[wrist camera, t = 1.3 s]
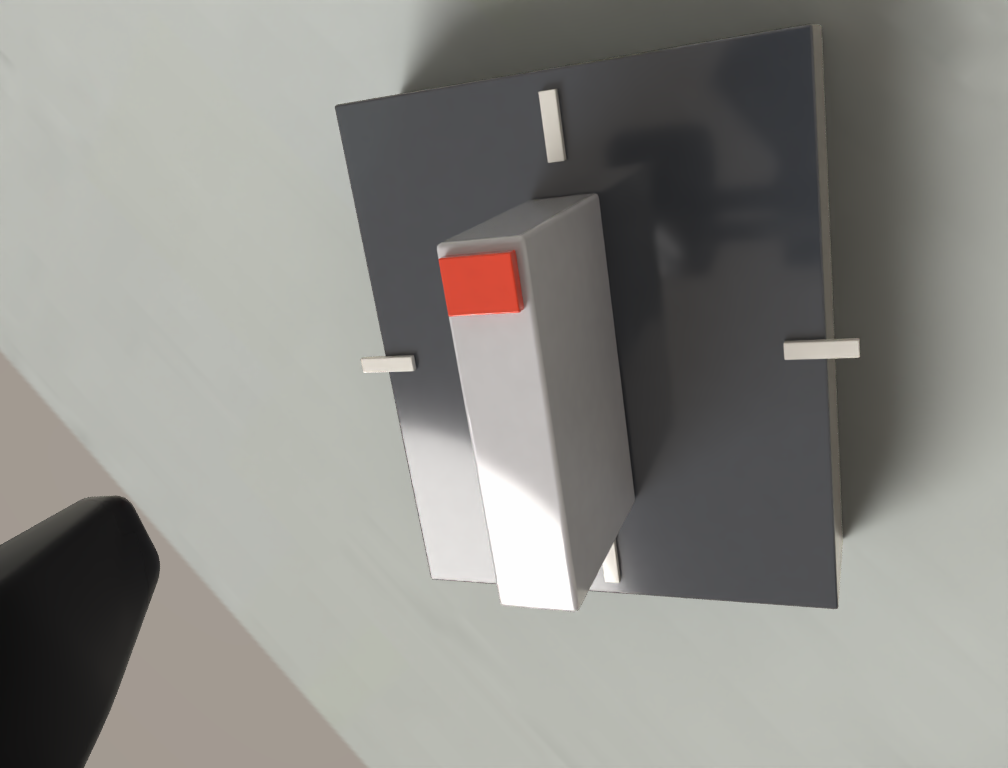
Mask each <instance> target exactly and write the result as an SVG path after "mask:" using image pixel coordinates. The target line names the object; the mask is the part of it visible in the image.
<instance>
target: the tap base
mask: <svg viewBox="0 0 1008 768" xmlns="http://www.w3.org/2000/svg"><path fill="white" fill-rule="evenodd" d="M335 110H336V115H337V120H338V125H339V130H340V135H341V139H342V144H343V149H344V154H345V159H346V164H347V169H348V174H349V179H350V183H351V188H352V193H353V198H354V203H355V208H356V213H357V218H358V223H359V227H360V232H361V237H362V242H363V247H364V252H365V257H366V262H367V267H368V271H369V276H370V281H371V286H372V291H373V296H374V301H375V306H376V311H377V315H378V320H379V325H380V330H381V335H382V340H383V345H384V350H385V355H386V356H377V357H363V358H361V364H362V368H363V372H364V373H368V372H389V374H390V379H391V384H392V389H393V394H394V399H395V403H396V408H397V413H398V418H399V423H400V428H401V433H402V438H403V443H404V447H405V452H406V457H407V462H408V467H409V472H410V477H411V482H412V487H413V491H414V496H415V501H416V506H417V511H418V516H419V521H420V526H421V531H422V535H423V540H424V545H425V550H426V555H427V560H428V565H429V570H430V575H431V578H432V579H436V580H450V581H463V582H477V583H490V584H497V583H496V577H495V572H494V566H493V560H492V555H491V549H490V544H489V538H488V533H487V527H486V521H485V516H484V510H483V505H482V499H481V493H480V488H479V482H478V477H477V471H476V465H475V460H474V454H473V449H472V443H471V438H470V432H469V426H468V421H467V415H466V410H465V404H464V398H463V393H462V387H461V382H460V376H459V371H458V365H457V359H456V354H455V348H454V343H453V337H452V331H451V326H450V320H449V316H448V310H447V305H446V299H445V293H444V288H443V282H442V277H441V271H440V266H439V259H438V253H437V245H438V244H440V243H441V242H444V241H446V240H448V239H450V238H452V237H454V236H456V235H458V234H460V233H462V232H464V231H466V230H468V229H470V228H473V227H475V226H477V225H479V224H481V223H483V222H485V221H487V220H489V219H491V218H493V217H495V216H497V215H499V214H501V213H504V212H506V211H508V210H510V209H512V208H514V207H516V206H518V205H520V204H522V203H524V202H526V201H528V200H535V199H544V198H554V197H563V196H572V195H581V194H590V193H595V194H597V195H598V197H599V203H600V211H601V220H602V228H603V236H604V245H605V253H606V261H607V270H608V278H609V286H610V295H611V303H612V311H613V319H614V328H615V336H616V344H617V353H618V361H619V369H620V378H621V386H622V394H623V403H624V411H625V419H626V428H627V436H628V444H629V453H630V461H631V469H632V478H633V486H634V494H635V502H634V504H633V506H632V508H631V510H630V512H629V514H628V516H627V518H626V520H625V522H624V524H623V526H622V528H621V529H620V531H619V533H618V535H617V537H616V539H615V541H614V543H613V545H612V547H611V549H610V551H609V553H608V555H607V557H606V558H605V560H604V562H603V564H602V566H601V568H600V570H599V572H598V574H597V576H596V578H595V580H594V582H593V584H592V586H591V587H590V589H589V591H598V592H612V593H626V594H639V595H653V596H666V597H680V598H693V599H707V600H720V601H734V602H747V603H761V604H774V605H788V606H801V607H815V608H828V609H837V608H838V604H839V590H840V575H841V561H842V546H843V532H842V508H841V483H840V459H839V434H838V410H837V385H836V361H835V358H859V357H860V342H859V338H847V339H835V336H834V312H833V287H832V263H831V238H830V214H829V190H828V165H827V141H826V116H825V92H824V67H823V43H822V27H821V25H815V24H806V25H800V26H794V27H788V28H782V29H777V30H771V31H765V32H759V33H753V34H747V35H741V36H736V37H730V38H724V39H718V40H712V41H706V42H701V43H695V44H689V45H683V46H677V47H671V48H665V49H660V50H654V51H648V52H642V53H636V54H630V55H625V56H619V57H613V58H607V59H601V60H595V61H590V62H584V63H578V64H572V65H566V66H560V67H554V68H549V69H543V70H537V71H531V72H525V73H519V74H514V75H508V76H502V77H496V78H490V79H484V80H478V81H473V82H467V83H461V84H455V85H449V86H443V87H438V88H432V89H426V90H420V91H414V92H408V93H403V94H397V95H391V96H385V97H379V98H373V99H367V100H362V101H356V102H350V103H344V104H338V105H336V106H335Z"/></svg>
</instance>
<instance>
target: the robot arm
mask: <svg viewBox="0 0 1008 768" xmlns="http://www.w3.org/2000/svg"><path fill="white" fill-rule="evenodd" d="M159 571H160V561H159V556H158V554H157V551H156V549H155V547H154V545H153V543H152V541H151V539H150V537H149V536H148V534H147V532H146V530H145V528H144V526H143V524H142V522H141V520H140V518H139V516H138V514H137V513H136V510H135V508H134V507H133V505H132V504H131V503H130V502H129V501H128V500H127V499H126V498H124V497H120V496H100V497H88V498H84V499H82V500H80V501H78V502H76V503H74V504H72V505H70V506H69V507H67V508H65V509H63V510H62V511H60V512H58V513H56V514H55V515H53V516H51V517H49V518H47V519H46V520H44V521H42V522H40V523H39V524H37V525H35V526H33V527H31V528H30V529H28V530H26V531H24V532H23V533H21V534H19V535H17V536H15V537H14V538H12V539H10V540H8V541H7V542H5V543H3V544H1V545H0V768H84V766H85V764H86V762H87V760H88V757H89V756H90V754H91V751H92V749H93V747H94V745H95V743H96V741H97V739H98V737H99V734H100V732H101V730H102V728H103V725H104V723H105V721H106V719H107V716H108V714H109V712H110V710H111V707H112V704H113V702H114V699H115V697H116V694H117V692H118V689H119V686H120V683H121V681H122V678H123V675H124V672H125V670H126V667H127V664H128V661H129V658H130V656H131V653H132V650H133V647H134V645H135V642H136V639H137V636H138V634H139V631H140V628H141V625H142V623H143V620H144V617H145V614H146V612H147V609H148V606H149V603H150V601H151V598H152V595H153V592H154V589H155V587H156V584H157V581H158V578H159Z"/></svg>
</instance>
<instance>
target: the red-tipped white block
mask: <svg viewBox="0 0 1008 768" xmlns="http://www.w3.org/2000/svg"><path fill="white" fill-rule="evenodd" d="M437 253H438V259H439V266H440V271H441V277H442V282H443V288H444V293H445V299H446V305H447V310H448V316H449V320H450V326H451V331H452V337H453V343H454V348H455V354H456V359H457V365H458V371H459V376H460V382H461V387H462V393H463V398H464V404H465V410H466V415H467V421H468V426H469V432H470V438H471V443H472V449H473V454H474V460H475V465H476V471H477V477H478V482H479V488H480V493H481V499H482V505H483V510H484V516H485V521H486V527H487V533H488V538H489V544H490V549H491V555H492V560H493V566H494V572H495V577H496V583H497V588H498V594H499V600H500V603H501V605H503V606H511V607H523V608H535V609H546V610H558V611H570V612H576V611H578V610H579V609H580V607H581V605H582V603H583V601H584V599H585V597H586V595H587V593H588V591H589V589H590V587H591V586H592V584H593V582H594V580H595V578H596V576H597V574H598V572H599V570H600V568H601V566H602V564H603V562H604V560H605V558H606V557H607V555H608V553H609V551H610V549H611V547H612V545H613V543H614V541H615V539H616V537H617V535H618V533H619V531H620V529H621V528H622V526H623V524H624V522H625V520H626V518H627V516H628V514H629V512H630V510H631V508H632V506H633V504H634V502H635V494H634V486H633V478H632V469H631V461H630V453H629V444H628V436H627V428H626V419H625V411H624V403H623V394H622V386H621V378H620V369H619V361H618V353H617V344H616V336H615V328H614V319H613V311H612V303H611V295H610V286H609V278H608V270H607V261H606V253H605V245H604V236H603V228H602V220H601V211H600V203H599V197H598V195H597V194H595V193H590V194H581V195H572V196H563V197H554V198H544V199H535V200H528V201H526V202H524V203H522V204H520V205H518V206H516V207H514V208H512V209H510V210H508V211H506V212H504V213H501V214H499V215H497V216H495V217H493V218H491V219H489V220H487V221H485V222H483V223H481V224H479V225H477V226H475V227H473V228H470V229H468V230H466V231H464V232H462V233H460V234H458V235H456V236H454V237H452V238H450V239H448V240H446V241H444V242H441V243H440V244H438V245H437Z"/></svg>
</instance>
